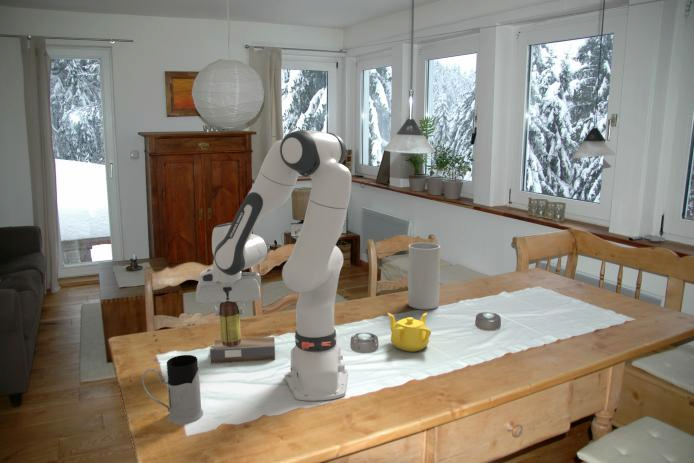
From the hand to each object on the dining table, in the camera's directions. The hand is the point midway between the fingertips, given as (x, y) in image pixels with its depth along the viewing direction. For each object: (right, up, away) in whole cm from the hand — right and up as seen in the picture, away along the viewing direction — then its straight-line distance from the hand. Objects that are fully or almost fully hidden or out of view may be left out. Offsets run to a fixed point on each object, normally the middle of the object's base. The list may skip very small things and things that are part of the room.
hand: (229, 314), depth 182 cm
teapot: (+59, -12, +8) cm, 61 cm away
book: (+4, -13, +4) cm, 14 cm away
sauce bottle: (0, -10, +2) cm, 10 cm away
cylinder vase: (+69, -4, +50) cm, 85 cm away
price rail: (+5, -13, -4) cm, 14 cm away
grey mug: (-6, -21, -37) cm, 43 cm away
